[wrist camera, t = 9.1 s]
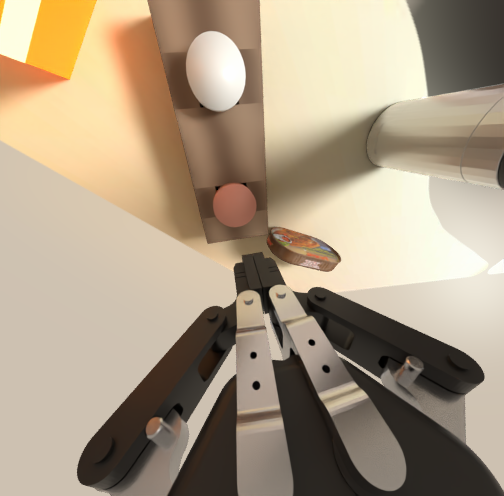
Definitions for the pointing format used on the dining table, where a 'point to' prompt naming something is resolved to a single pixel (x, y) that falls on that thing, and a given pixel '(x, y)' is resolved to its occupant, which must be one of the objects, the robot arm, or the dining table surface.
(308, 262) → the tin
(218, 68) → the white rounded piece
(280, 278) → the robot arm
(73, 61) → the orange juice
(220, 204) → the brick plunger
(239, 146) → the block
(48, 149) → the dining table surface
